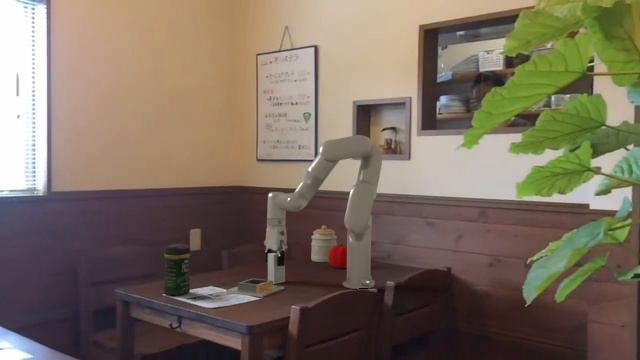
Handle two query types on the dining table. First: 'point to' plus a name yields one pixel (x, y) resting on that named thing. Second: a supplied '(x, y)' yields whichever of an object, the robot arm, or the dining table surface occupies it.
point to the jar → (322, 244)
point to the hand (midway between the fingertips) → (274, 263)
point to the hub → (255, 288)
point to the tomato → (338, 256)
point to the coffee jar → (177, 269)
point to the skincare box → (275, 269)
